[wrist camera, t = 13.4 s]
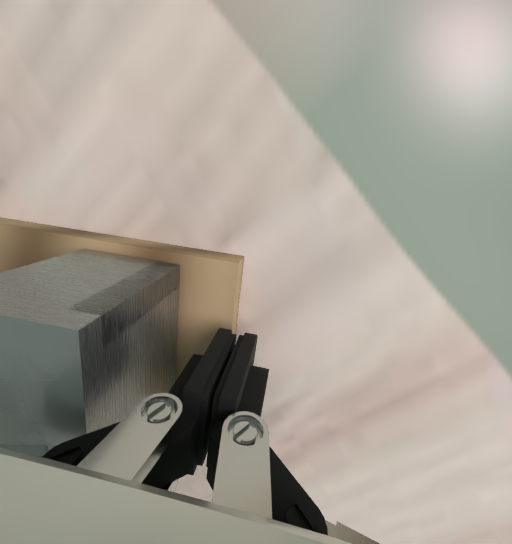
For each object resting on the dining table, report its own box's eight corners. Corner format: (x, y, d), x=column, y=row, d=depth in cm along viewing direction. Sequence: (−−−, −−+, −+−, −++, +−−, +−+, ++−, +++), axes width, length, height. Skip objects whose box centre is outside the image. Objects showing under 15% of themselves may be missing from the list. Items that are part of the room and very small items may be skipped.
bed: (244, 256, 13) (196, 313, 7) (228, 396, 16) (183, 523, 10) (-116, 199, 15) (-374, 207, 9) (-80, 329, 18) (-267, 399, 12)
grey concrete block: (180, 264, 12) (78, 330, 7) (174, 400, 14) (95, 534, 9) (84, 248, 13) (-86, 297, 7) (93, 382, 15) (-30, 497, 9)
